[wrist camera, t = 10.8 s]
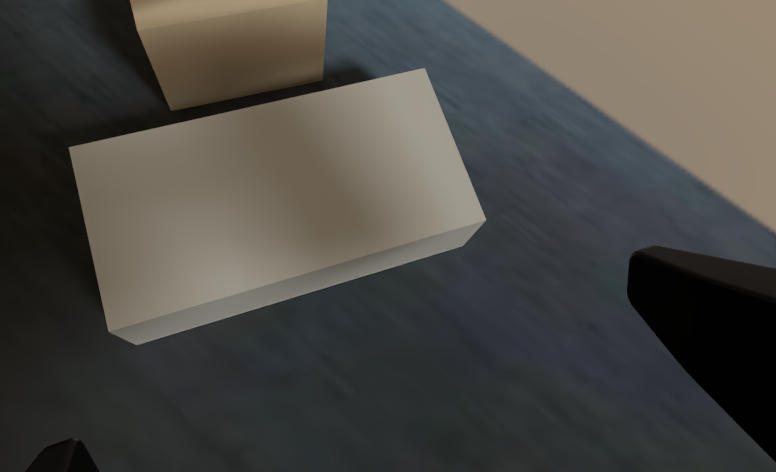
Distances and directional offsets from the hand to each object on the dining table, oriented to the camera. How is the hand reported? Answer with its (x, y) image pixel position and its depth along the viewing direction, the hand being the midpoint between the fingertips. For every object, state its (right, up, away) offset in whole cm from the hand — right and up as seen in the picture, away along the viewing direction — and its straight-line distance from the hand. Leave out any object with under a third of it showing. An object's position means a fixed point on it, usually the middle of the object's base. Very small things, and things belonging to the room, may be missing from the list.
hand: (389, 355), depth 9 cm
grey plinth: (-4, +3, +12) cm, 13 cm away
